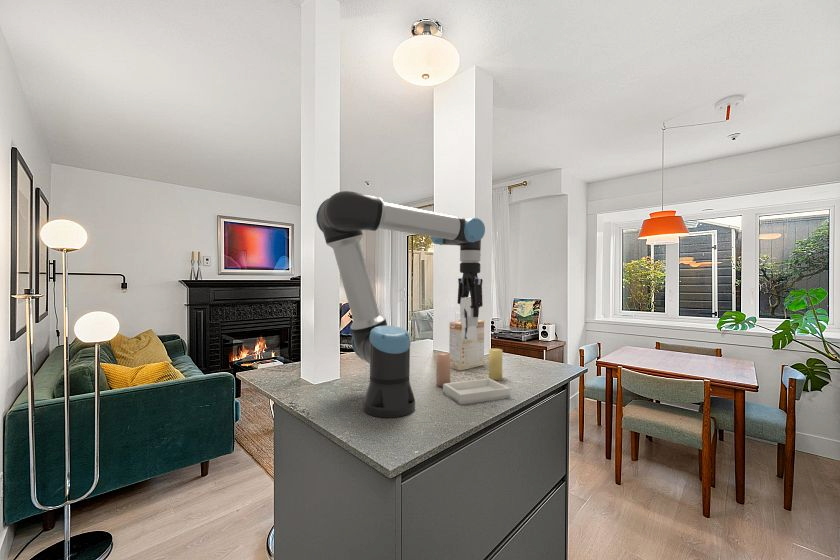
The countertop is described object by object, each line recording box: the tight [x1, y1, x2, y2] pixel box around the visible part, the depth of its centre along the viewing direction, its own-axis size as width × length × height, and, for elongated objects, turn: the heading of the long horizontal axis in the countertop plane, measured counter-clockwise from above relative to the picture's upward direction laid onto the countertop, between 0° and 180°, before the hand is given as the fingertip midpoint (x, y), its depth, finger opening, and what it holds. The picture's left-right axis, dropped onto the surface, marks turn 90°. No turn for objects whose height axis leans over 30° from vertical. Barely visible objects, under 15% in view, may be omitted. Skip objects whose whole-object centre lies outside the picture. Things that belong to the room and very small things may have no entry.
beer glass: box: [459, 296, 479, 340], centre depth 137 cm, size 7×7×15 cm
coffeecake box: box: [448, 319, 485, 371], centre depth 159 cm, size 15×7×20 cm, turn 130°
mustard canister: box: [488, 347, 504, 381], centre depth 141 cm, size 5×5×11 cm
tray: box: [442, 377, 511, 405], centre depth 122 cm, size 18×12×3 cm, turn 113°
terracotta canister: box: [435, 352, 451, 388], centre depth 132 cm, size 5×5×11 cm
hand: (469, 324), depth 137 cm, fingers closed on beer glass, 7 cm apart
